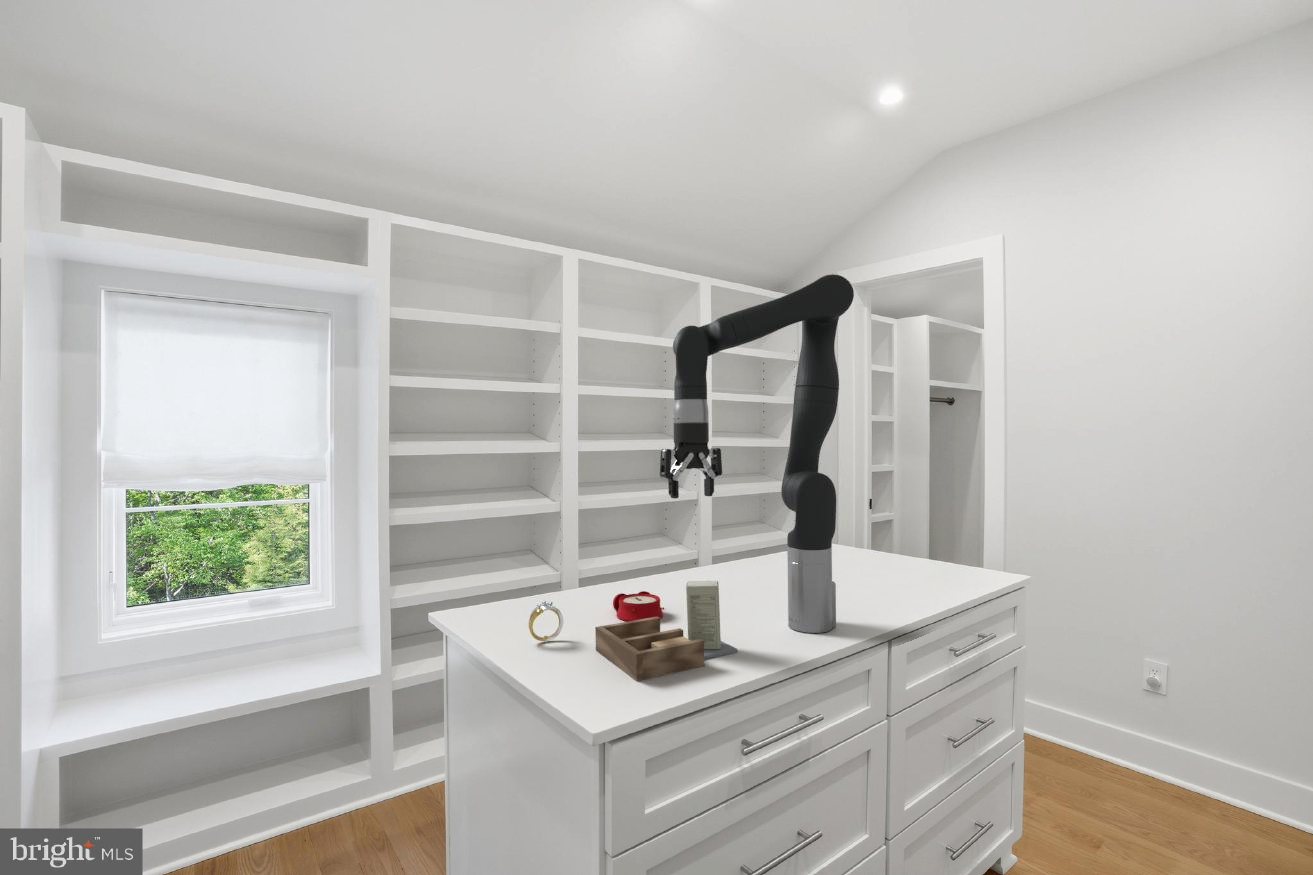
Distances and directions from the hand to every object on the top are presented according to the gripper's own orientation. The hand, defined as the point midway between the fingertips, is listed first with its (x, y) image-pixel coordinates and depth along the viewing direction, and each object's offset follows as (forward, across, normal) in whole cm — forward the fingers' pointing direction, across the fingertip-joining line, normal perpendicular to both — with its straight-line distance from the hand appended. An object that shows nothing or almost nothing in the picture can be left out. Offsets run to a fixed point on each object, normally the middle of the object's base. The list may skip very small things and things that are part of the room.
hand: (691, 497), depth 132 cm
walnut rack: (+28, -16, -10) cm, 34 cm away
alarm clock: (+29, -5, +16) cm, 33 cm away
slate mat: (+28, -5, -12) cm, 31 cm away
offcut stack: (+28, -14, -15) cm, 35 cm away
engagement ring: (+28, -30, +8) cm, 42 cm away
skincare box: (+28, -5, -12) cm, 31 cm away
